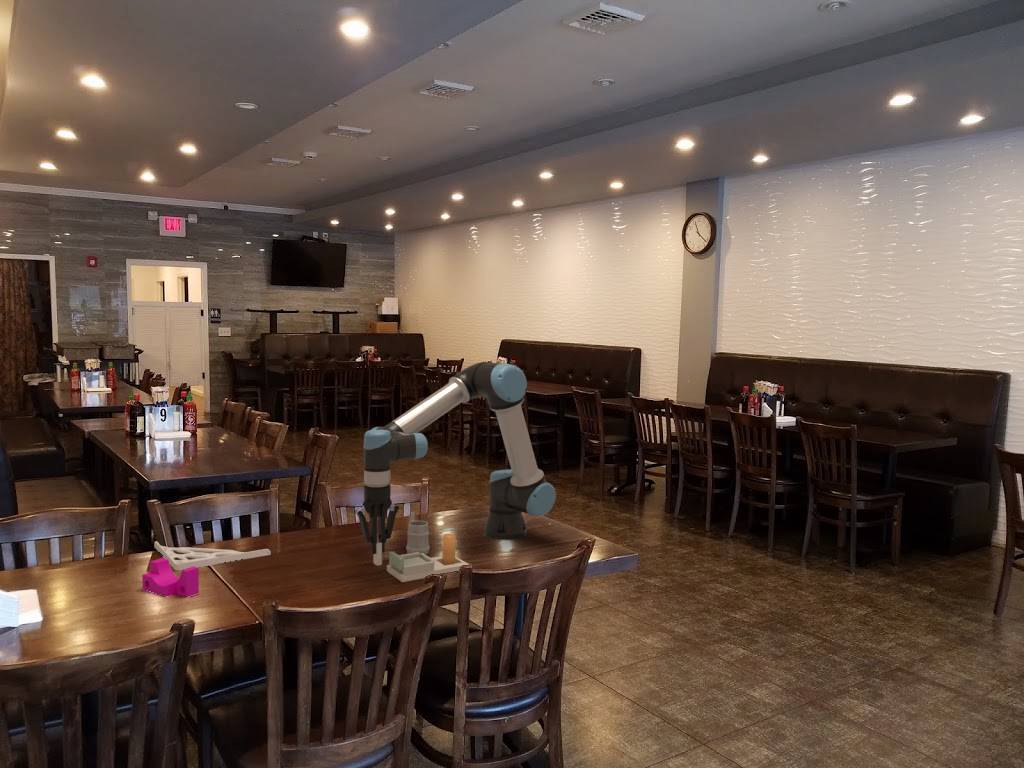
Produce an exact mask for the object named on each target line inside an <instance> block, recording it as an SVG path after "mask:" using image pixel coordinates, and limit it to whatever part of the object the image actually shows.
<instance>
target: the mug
mask: <svg viewBox="0 0 1024 768" xmlns="http://www.w3.org/2000/svg"><path fill="white" fill-rule="evenodd" d="M409 516H410V517H409V518H410V519H409V522H408V525H407V526H408V527H407V531H406V534H407V545H406V548H405V549H406V554H409V553H415V552H419V553H423V554H425V555H426V556H427V554H429V553H430V549H431V546H430V542H429V535H430V531H429V522H428V521H426V520H416V516H415V511H412V512H410V515H409Z"/></svg>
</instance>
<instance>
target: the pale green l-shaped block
mask: <svg viewBox="0 0 1024 768" xmlns="http://www.w3.org/2000/svg"><path fill="white" fill-rule="evenodd" d="M388 553H389V555H388V557H389V559H388V561H389V562H390V563H391V564H392V565H393V566H394V567H395V568H397V569H398V570H400V571H401V572H402V573H403V566H407V565H413V564H418V563H424V562H426V561H425V560H423V559H422V558H420V557H416V558H410V559H404V558H402V557H401V556H399V555H400V554H397V553H396V552H394V551H389V552H388Z"/></svg>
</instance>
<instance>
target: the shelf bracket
mask: <svg viewBox="0 0 1024 768" xmlns="http://www.w3.org/2000/svg"><path fill="white" fill-rule="evenodd" d="M154 549H155V550H156V551H157V552H158V553H159V552H160V553H161V554H162V555H163V556H162V555H161V554H160V553H159V554H160V555H161V556H162V558H165V559H169V564H170V565H171V566H172V567H173V568H174V569H175V570H183V569H187V568H190V567H193V566H194V567H202V568H205V567H204V566H212V565H218V564H219V563H220V564H225V563H224V562H226V563H230V561H231V562H236V561H235V560H237V561H241V559H243V560H247V559H253V558H259V557H265V556H271V550H270V549H269V548H263V549H256V550H252V551H251V550H250V551H247V552H243V551H238V550H233V549H218V548H217V549H216V548H208V547H207V548H202V547H189V546H188V547H186V546H181V547H170V546H169V547H168V546H163V545H161V544H160V543H159V542H158V541H157V540H156V541H154ZM178 553H179V554H178ZM220 564H219V565H220ZM171 566H170V567H171ZM172 567H171V568H172ZM173 568H172V569H173Z"/></svg>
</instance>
